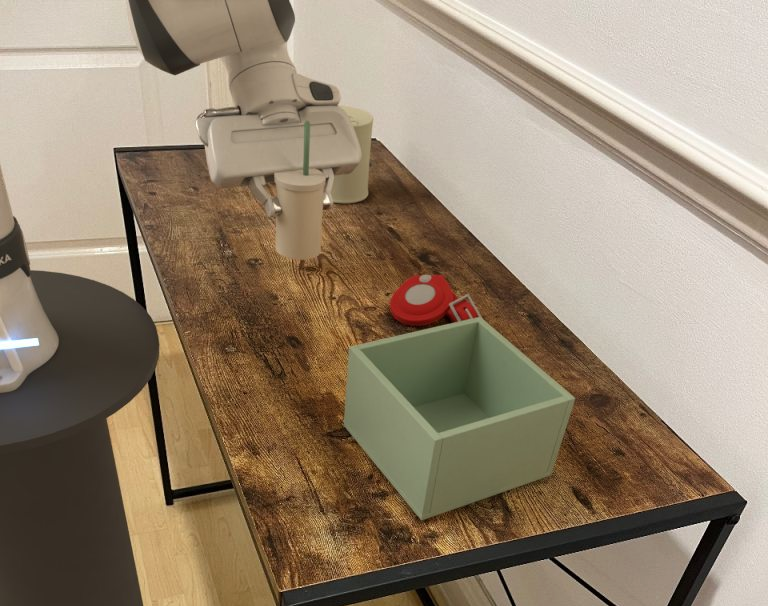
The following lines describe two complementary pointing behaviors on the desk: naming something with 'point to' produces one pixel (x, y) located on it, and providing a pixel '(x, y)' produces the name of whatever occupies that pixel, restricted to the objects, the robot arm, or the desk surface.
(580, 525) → the desk surface
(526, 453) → the bin
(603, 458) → the desk surface
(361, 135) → the can
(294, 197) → the paper cup
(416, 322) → the red flat rounded piece
